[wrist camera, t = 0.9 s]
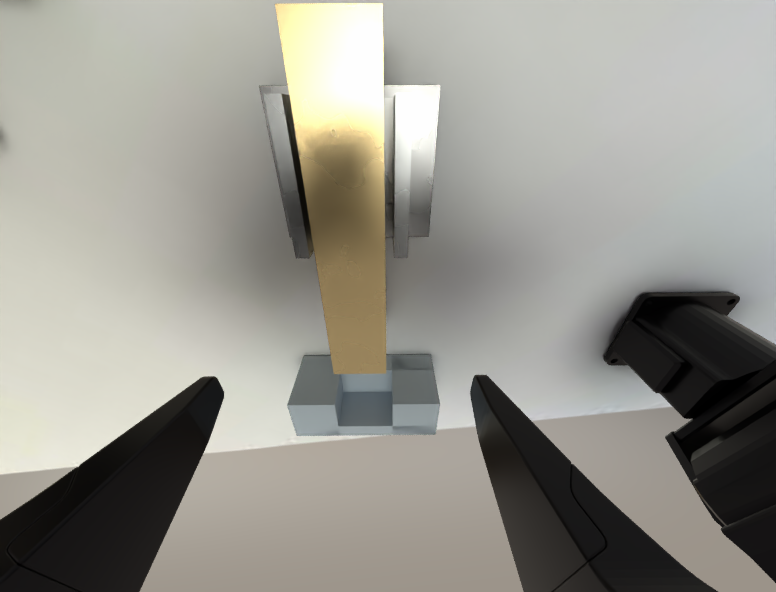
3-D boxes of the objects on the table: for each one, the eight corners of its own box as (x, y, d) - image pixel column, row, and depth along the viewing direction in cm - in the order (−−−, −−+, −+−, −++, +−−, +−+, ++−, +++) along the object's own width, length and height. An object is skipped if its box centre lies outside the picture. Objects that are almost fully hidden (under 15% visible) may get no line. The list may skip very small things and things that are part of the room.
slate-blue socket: (430, 354, 22) (440, 404, 18) (427, 384, 24) (435, 434, 20) (304, 355, 22) (287, 405, 18) (310, 385, 24) (296, 435, 20)
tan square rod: (383, 31, 10) (382, 3, 8) (386, 338, 18) (386, 373, 16) (302, 31, 10) (274, 3, 8) (340, 338, 18) (333, 373, 16)
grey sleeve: (438, 86, 13) (460, 73, 9) (427, 232, 17) (439, 267, 13) (264, 87, 13) (212, 74, 9) (292, 233, 17) (265, 268, 13)
